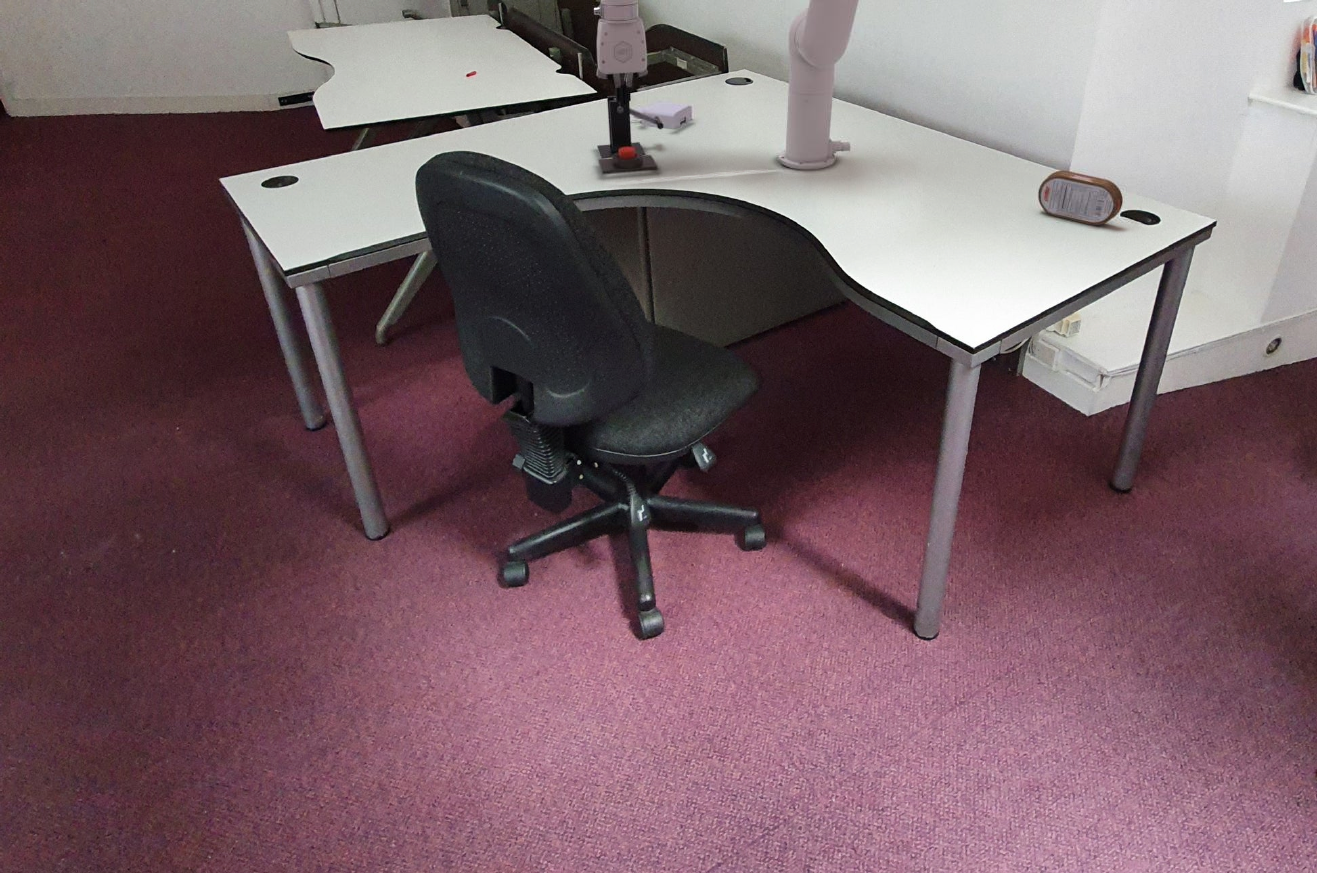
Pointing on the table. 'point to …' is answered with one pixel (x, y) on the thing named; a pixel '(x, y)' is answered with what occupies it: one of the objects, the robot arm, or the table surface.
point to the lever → (647, 117)
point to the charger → (667, 114)
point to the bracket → (618, 130)
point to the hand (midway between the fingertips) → (623, 104)
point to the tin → (1080, 197)
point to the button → (627, 152)
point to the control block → (627, 164)
